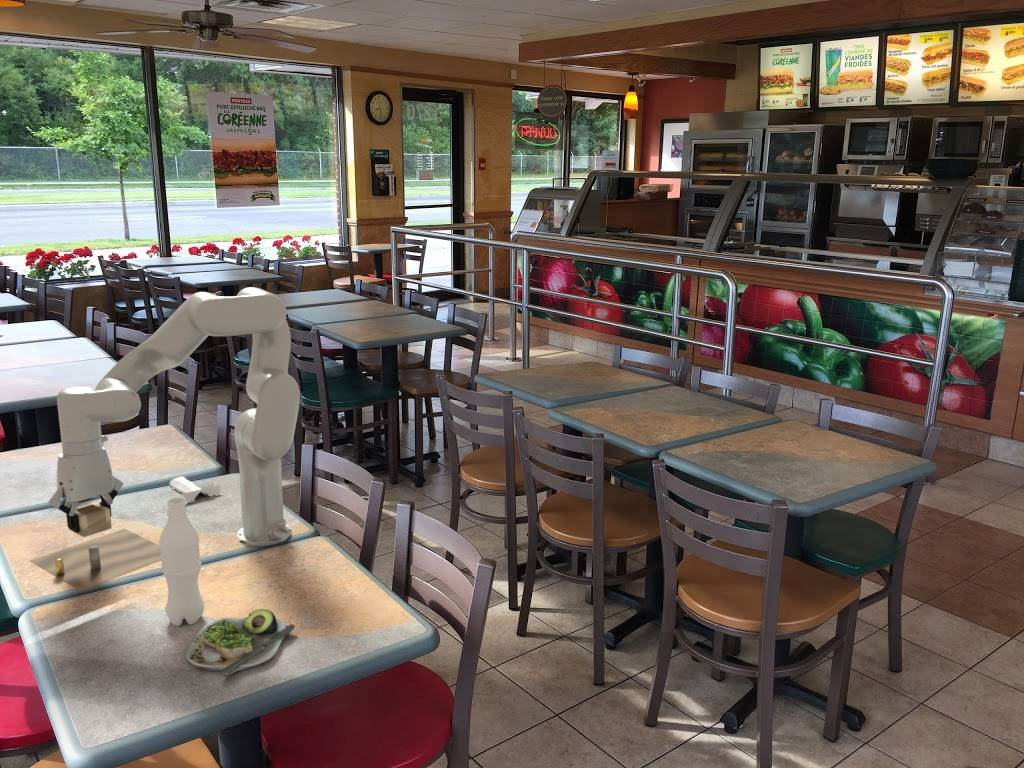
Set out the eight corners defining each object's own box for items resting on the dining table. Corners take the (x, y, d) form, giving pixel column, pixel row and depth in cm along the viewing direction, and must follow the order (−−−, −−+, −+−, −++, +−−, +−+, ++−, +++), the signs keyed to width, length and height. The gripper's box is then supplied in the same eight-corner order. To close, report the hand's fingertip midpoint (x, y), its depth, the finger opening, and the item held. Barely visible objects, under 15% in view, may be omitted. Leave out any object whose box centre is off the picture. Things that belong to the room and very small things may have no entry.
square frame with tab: (111, 528, 180) (109, 508, 179) (83, 537, 176) (81, 517, 175) (86, 515, 186) (84, 496, 185) (59, 524, 182) (57, 504, 181)
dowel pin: (66, 574, 179) (64, 559, 179) (58, 576, 178) (56, 561, 177) (62, 572, 180) (60, 557, 179) (54, 574, 179) (53, 559, 178)
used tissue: (184, 507, 220) (183, 493, 219) (168, 486, 234) (167, 472, 233) (225, 499, 226) (224, 485, 225) (207, 479, 240) (206, 466, 239)
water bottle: (164, 631, 161) (153, 509, 154) (168, 612, 167) (158, 495, 161) (203, 626, 162) (194, 506, 156) (206, 608, 169) (197, 492, 163)
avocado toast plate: (271, 684, 145) (270, 660, 144) (168, 682, 145) (166, 658, 144) (300, 626, 164) (299, 604, 163) (209, 623, 164) (207, 602, 163)
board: (177, 558, 190) (175, 533, 189) (80, 595, 173) (77, 568, 171) (125, 533, 203) (122, 509, 201) (30, 565, 185) (26, 539, 184)
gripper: (112, 433, 184) (119, 509, 188) (30, 452, 171) (40, 534, 175) (131, 440, 180) (138, 518, 184) (48, 460, 166) (58, 544, 171)
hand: (90, 525), depth 179 cm, fingers closed on square frame with tab, 6 cm apart
